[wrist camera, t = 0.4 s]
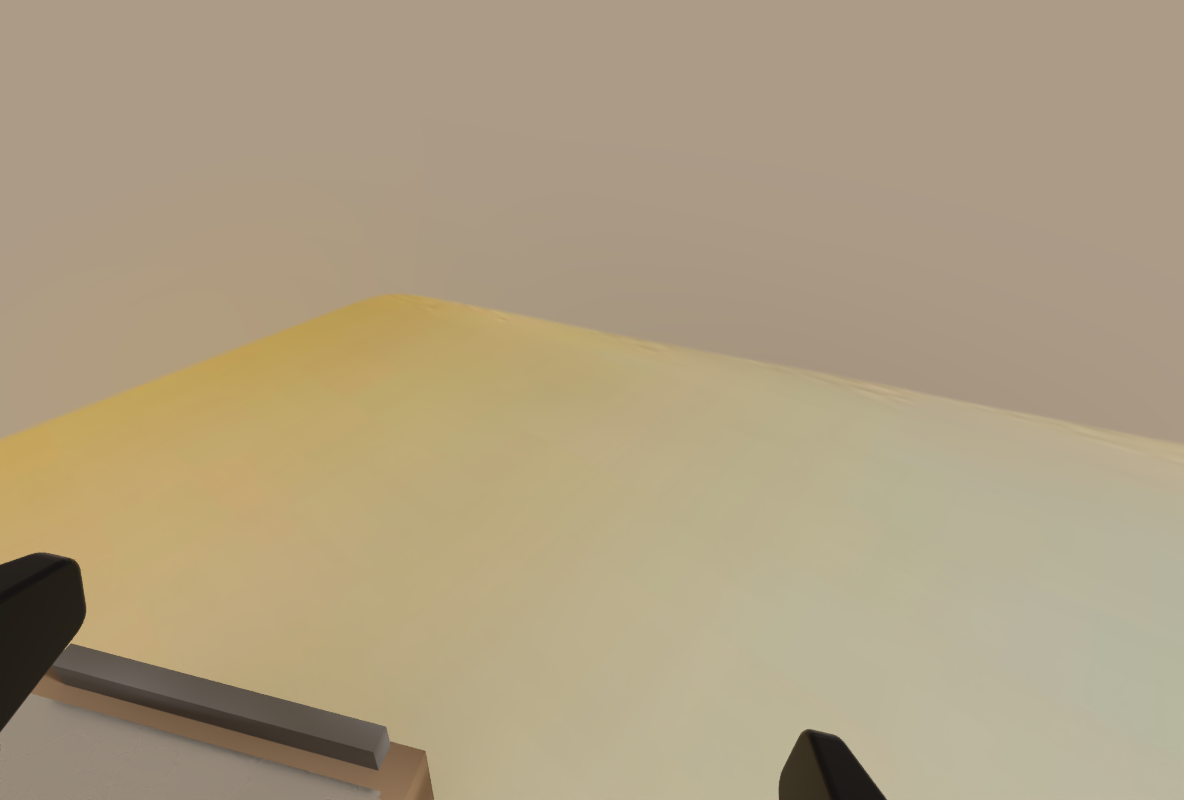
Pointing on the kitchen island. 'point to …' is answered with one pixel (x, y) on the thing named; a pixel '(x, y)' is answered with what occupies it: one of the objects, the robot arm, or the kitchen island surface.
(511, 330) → the kitchen island surface
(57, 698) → the brown box
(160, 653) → the kitchen island surface
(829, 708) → the kitchen island surface
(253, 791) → the steel flap
